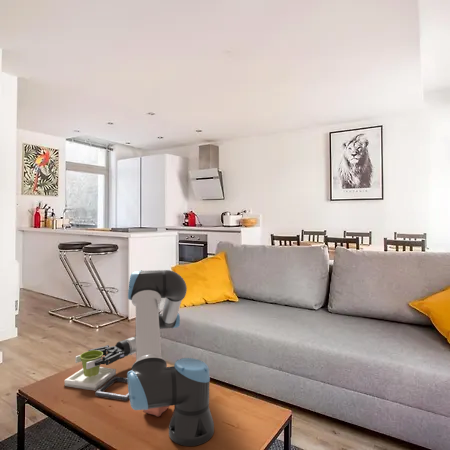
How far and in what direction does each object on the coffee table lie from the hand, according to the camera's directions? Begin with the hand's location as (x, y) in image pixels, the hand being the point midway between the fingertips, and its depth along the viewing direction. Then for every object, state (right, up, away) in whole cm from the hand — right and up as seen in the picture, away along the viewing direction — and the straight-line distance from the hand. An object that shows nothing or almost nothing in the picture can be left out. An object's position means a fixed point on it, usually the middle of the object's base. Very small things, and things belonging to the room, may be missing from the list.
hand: (81, 362), depth 141 cm
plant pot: (+3, -7, +4) cm, 8 cm away
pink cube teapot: (+36, -10, -19) cm, 42 cm away
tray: (+3, -9, +4) cm, 10 cm away
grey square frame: (+18, -9, -4) cm, 21 cm away
